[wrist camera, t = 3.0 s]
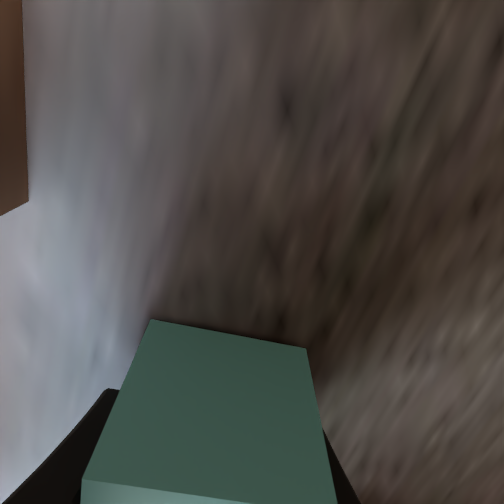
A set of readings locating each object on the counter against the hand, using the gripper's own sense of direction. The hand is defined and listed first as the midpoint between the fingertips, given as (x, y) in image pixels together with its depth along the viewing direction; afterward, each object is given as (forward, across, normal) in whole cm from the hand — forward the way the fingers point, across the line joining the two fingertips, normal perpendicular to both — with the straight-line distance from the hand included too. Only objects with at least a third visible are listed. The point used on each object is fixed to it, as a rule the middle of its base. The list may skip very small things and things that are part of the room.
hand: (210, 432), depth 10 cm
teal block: (+1, 0, 0) cm, 1 cm away
